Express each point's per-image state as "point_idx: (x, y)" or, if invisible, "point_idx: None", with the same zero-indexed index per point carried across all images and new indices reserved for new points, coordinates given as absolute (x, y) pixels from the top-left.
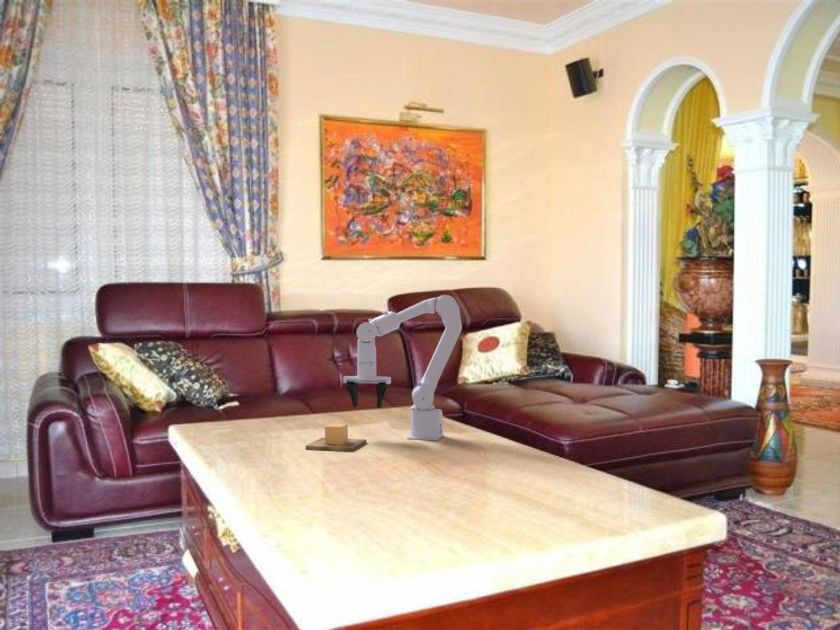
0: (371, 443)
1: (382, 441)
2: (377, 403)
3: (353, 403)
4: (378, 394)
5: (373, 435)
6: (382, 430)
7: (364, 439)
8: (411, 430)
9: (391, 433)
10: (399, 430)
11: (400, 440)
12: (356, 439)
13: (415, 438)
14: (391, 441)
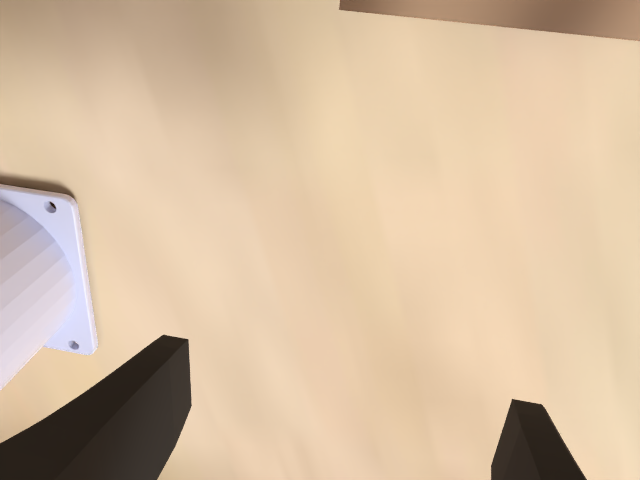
0: (303, 23)
1: (235, 119)
2: (151, 366)
3: (549, 438)
4: (41, 458)
5: (365, 333)
6: (342, 472)
7: (359, 9)
8: (33, 269)
9: (257, 389)
10: (235, 465)
11: (114, 167)
12: (442, 2)
13: (11, 189)
14: (165, 125)
